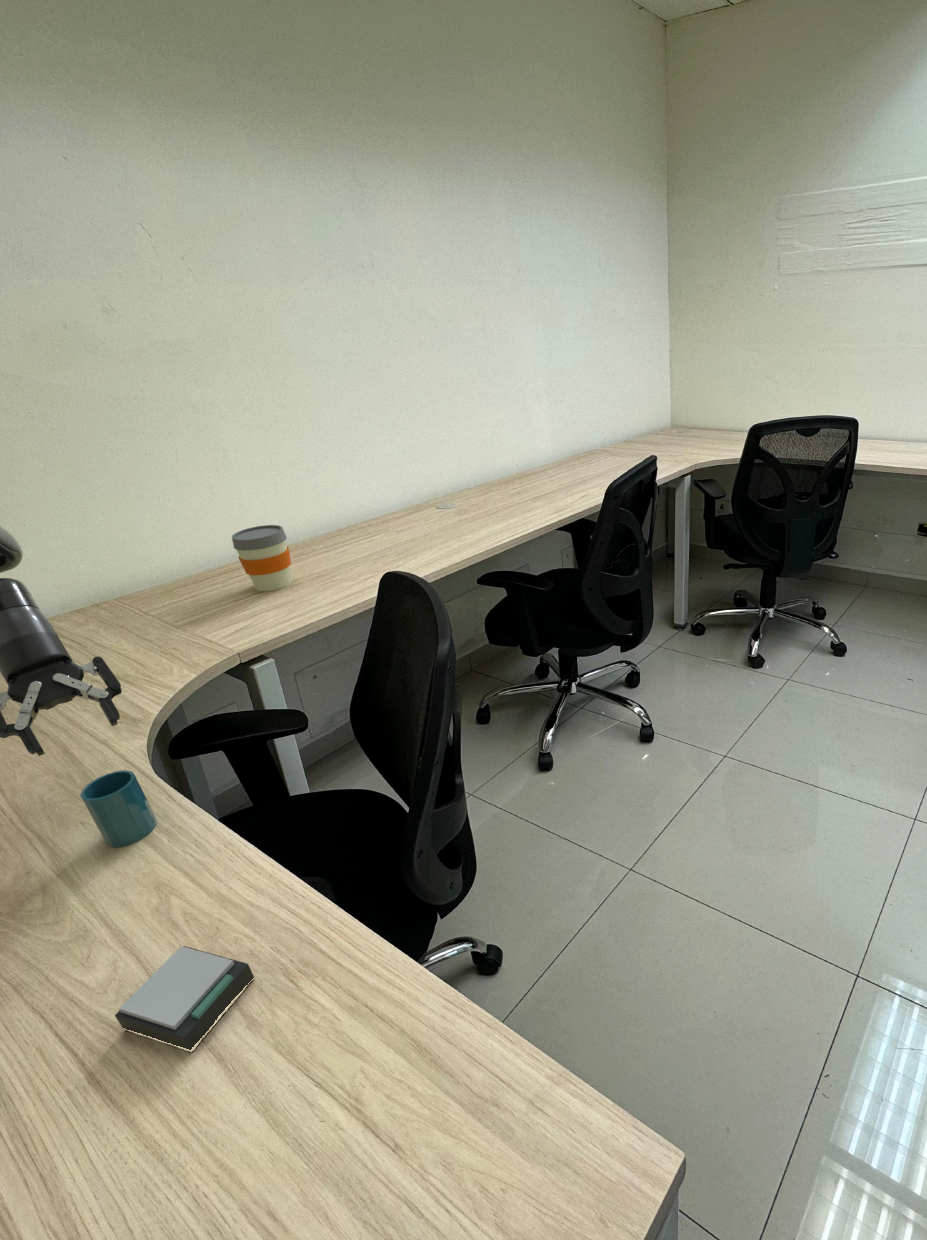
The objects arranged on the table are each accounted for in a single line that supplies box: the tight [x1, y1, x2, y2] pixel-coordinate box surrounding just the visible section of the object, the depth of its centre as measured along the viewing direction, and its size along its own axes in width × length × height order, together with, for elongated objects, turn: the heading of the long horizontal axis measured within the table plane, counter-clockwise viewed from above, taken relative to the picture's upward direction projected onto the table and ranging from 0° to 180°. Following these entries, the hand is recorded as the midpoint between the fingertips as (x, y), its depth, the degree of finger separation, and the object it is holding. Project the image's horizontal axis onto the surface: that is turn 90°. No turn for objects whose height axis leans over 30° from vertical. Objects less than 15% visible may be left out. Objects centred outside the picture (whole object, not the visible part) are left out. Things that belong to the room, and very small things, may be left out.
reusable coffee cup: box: [231, 524, 293, 592], centre depth 172 cm, size 13×13×15 cm
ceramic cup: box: [79, 769, 158, 848], centre depth 90 cm, size 6×6×8 cm
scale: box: [114, 945, 255, 1050], centre depth 67 cm, size 9×8×3 cm
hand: (79, 738), depth 91 cm, fingers open, 8 cm apart
